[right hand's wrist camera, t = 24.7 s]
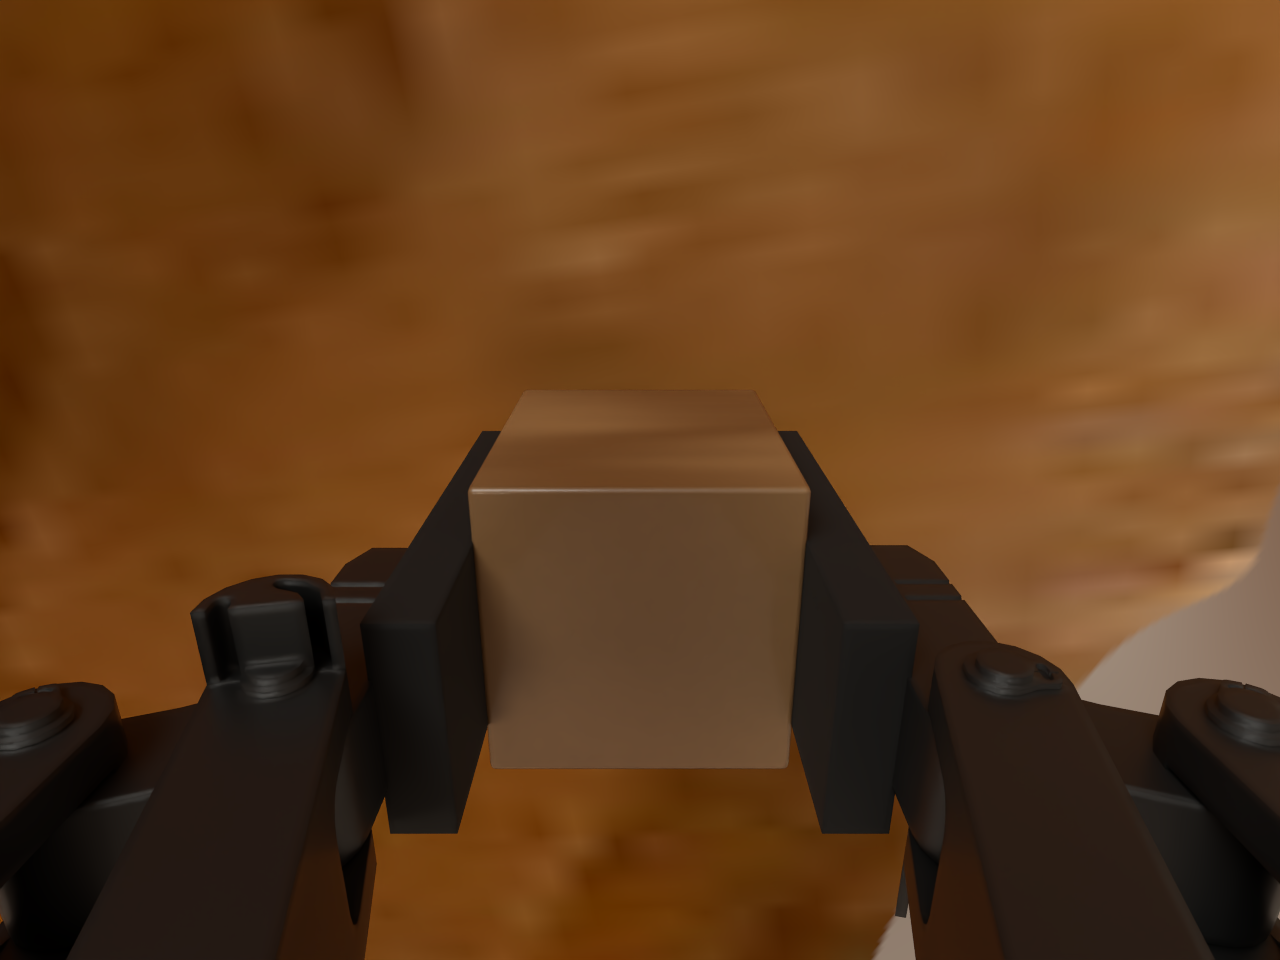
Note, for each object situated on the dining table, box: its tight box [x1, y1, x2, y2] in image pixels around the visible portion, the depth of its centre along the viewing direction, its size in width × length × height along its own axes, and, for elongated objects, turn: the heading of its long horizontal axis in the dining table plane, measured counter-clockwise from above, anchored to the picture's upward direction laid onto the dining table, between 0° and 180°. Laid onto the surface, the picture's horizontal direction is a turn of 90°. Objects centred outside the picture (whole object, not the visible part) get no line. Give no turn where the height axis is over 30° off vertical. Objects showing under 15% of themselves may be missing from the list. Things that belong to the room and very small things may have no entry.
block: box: [468, 390, 811, 769], centre depth 12 cm, size 4×4×5 cm
